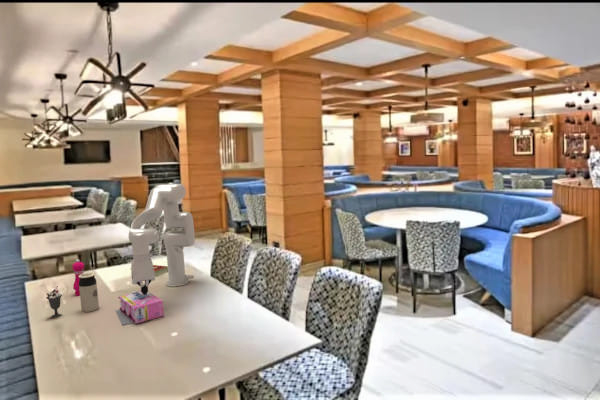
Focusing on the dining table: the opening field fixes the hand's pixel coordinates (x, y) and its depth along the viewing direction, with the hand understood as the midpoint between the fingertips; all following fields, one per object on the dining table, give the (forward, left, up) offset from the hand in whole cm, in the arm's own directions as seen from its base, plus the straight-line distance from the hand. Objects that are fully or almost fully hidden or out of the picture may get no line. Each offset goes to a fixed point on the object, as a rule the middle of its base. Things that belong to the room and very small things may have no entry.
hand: (144, 293), depth 214 cm
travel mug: (+23, -21, -9) cm, 32 cm away
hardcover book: (-16, -70, -10) cm, 73 cm away
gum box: (-4, +1, -5) cm, 6 cm away
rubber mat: (+5, 0, -9) cm, 10 cm away
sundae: (+38, -21, -9) cm, 44 cm away
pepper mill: (+25, -51, -9) cm, 57 cm away
